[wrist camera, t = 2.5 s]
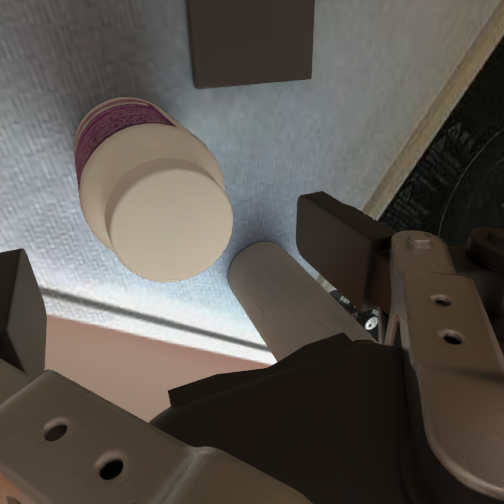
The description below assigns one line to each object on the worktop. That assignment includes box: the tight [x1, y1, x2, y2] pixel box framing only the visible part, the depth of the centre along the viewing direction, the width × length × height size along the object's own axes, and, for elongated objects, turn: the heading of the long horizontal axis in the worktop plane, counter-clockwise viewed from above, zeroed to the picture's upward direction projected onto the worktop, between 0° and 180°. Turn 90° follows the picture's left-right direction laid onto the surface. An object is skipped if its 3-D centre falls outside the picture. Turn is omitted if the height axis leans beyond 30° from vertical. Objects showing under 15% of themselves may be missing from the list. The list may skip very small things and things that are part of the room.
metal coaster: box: [187, 0, 315, 89], centre depth 19 cm, size 6×6×1 cm
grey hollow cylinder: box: [228, 242, 379, 362], centre depth 23 cm, size 4×4×10 cm
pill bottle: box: [74, 97, 233, 282], centre depth 16 cm, size 5×5×10 cm
